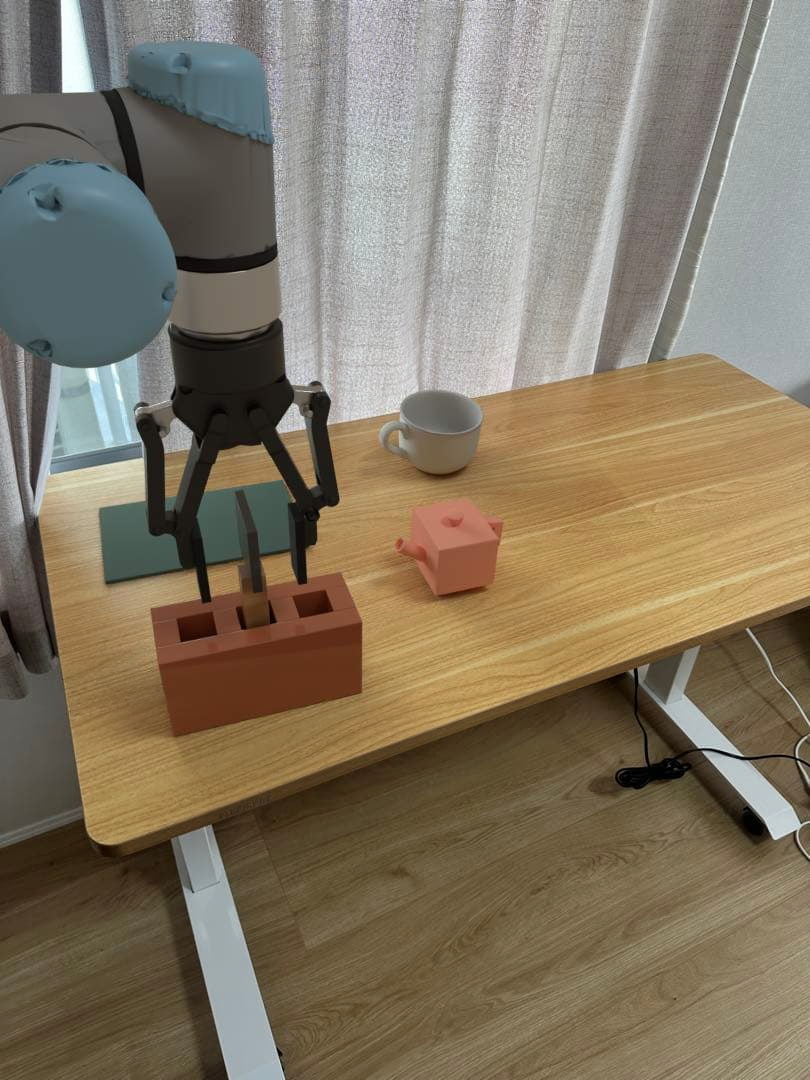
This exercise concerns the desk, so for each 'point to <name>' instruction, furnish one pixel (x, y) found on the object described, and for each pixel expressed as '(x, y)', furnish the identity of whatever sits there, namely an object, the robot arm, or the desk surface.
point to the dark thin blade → (250, 568)
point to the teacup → (436, 431)
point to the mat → (149, 555)
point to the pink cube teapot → (453, 545)
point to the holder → (258, 653)
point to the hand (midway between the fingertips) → (252, 582)
